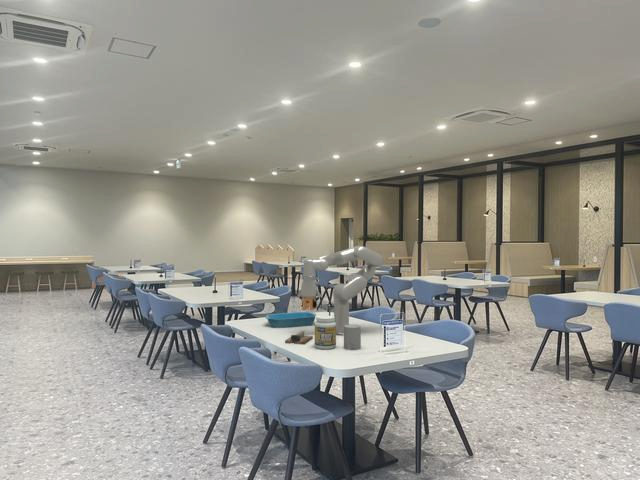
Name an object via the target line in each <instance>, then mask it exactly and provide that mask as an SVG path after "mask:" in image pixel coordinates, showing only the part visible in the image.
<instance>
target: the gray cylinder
mask: <svg viewBox="0 0 640 480" xmlns="http://www.w3.org/2000/svg"><path fill="white" fill-rule="evenodd" d="M361 327H362V326H361V325H360V324H354V323H353V324H352V323H349V325H344V335H343V349H345V350H347V351H358V350H361V348H362V342H361V341H362V332H361V331H362V330H361V329H362V328H361Z"/></svg>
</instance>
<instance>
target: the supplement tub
mask: <svg viewBox="0 0 640 480" xmlns="http://www.w3.org/2000/svg"><path fill="white" fill-rule="evenodd" d="M334 320H335V317H334V315H333V316H332V315H316V316H315V321H314V344H313V345H314V347H315V348H316V349H320V350H331V349H335V348H336V346H337V334H336V323H335V322H334Z"/></svg>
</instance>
